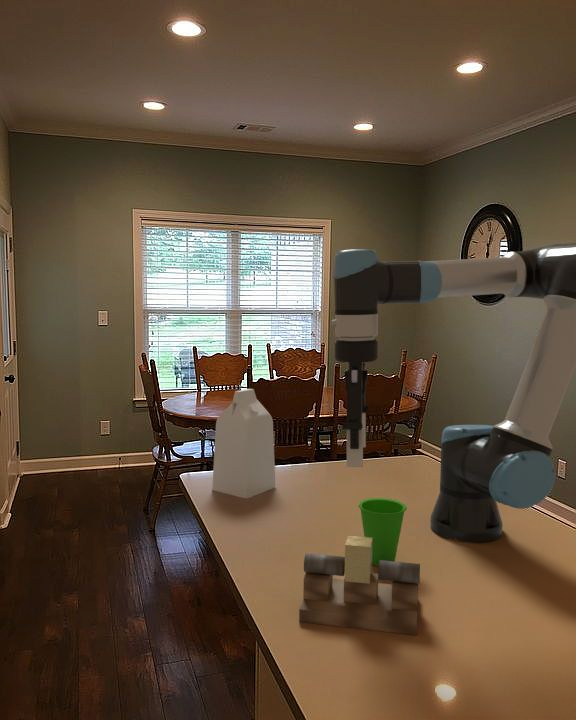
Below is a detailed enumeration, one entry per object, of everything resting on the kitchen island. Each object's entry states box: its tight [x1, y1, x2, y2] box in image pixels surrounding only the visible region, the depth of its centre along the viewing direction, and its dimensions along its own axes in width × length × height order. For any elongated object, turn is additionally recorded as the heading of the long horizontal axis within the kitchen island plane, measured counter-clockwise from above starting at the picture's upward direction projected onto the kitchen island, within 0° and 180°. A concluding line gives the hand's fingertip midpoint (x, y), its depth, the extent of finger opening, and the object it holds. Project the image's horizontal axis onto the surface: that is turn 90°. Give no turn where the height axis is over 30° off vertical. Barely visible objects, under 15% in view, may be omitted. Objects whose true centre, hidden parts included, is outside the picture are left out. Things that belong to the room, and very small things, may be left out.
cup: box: [358, 497, 407, 567], centre depth 123 cm, size 9×9×11 cm
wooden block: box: [344, 535, 373, 584], centre depth 104 cm, size 4×4×6 cm
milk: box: [211, 388, 276, 499], centre depth 167 cm, size 12×12×26 cm
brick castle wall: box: [298, 552, 421, 636], centre depth 104 cm, size 18×12×8 cm, turn 78°
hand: (356, 456), depth 116 cm, fingers open, 13 cm apart
